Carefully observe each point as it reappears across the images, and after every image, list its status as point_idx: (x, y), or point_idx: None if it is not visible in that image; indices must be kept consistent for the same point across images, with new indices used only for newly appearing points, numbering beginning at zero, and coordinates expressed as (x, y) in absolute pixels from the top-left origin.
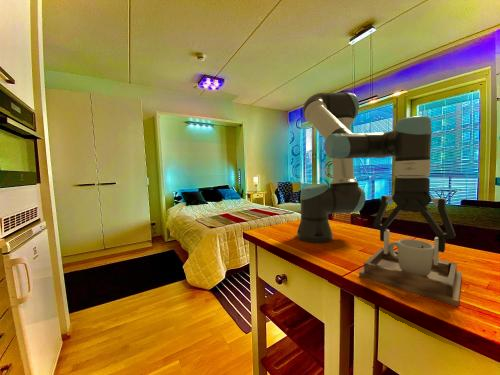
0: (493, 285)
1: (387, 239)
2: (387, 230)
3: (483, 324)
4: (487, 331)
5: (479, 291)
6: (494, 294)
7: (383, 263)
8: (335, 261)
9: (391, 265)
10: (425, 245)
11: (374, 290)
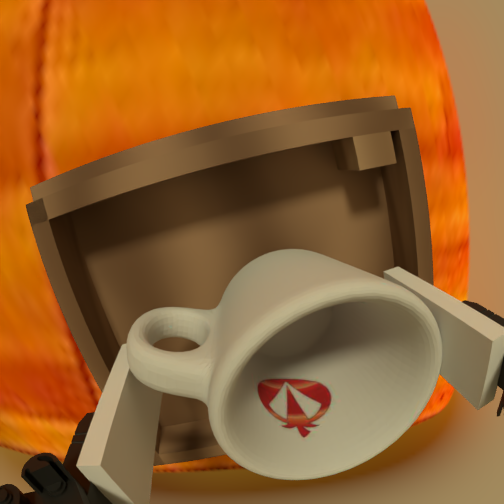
0: (453, 108)
1: (146, 453)
2: (107, 486)
3: (445, 379)
4: (446, 393)
5: (443, 201)
6: (465, 187)
7: (126, 306)
8: (18, 396)
9: (163, 297)
10: (379, 303)
11: (237, 464)
